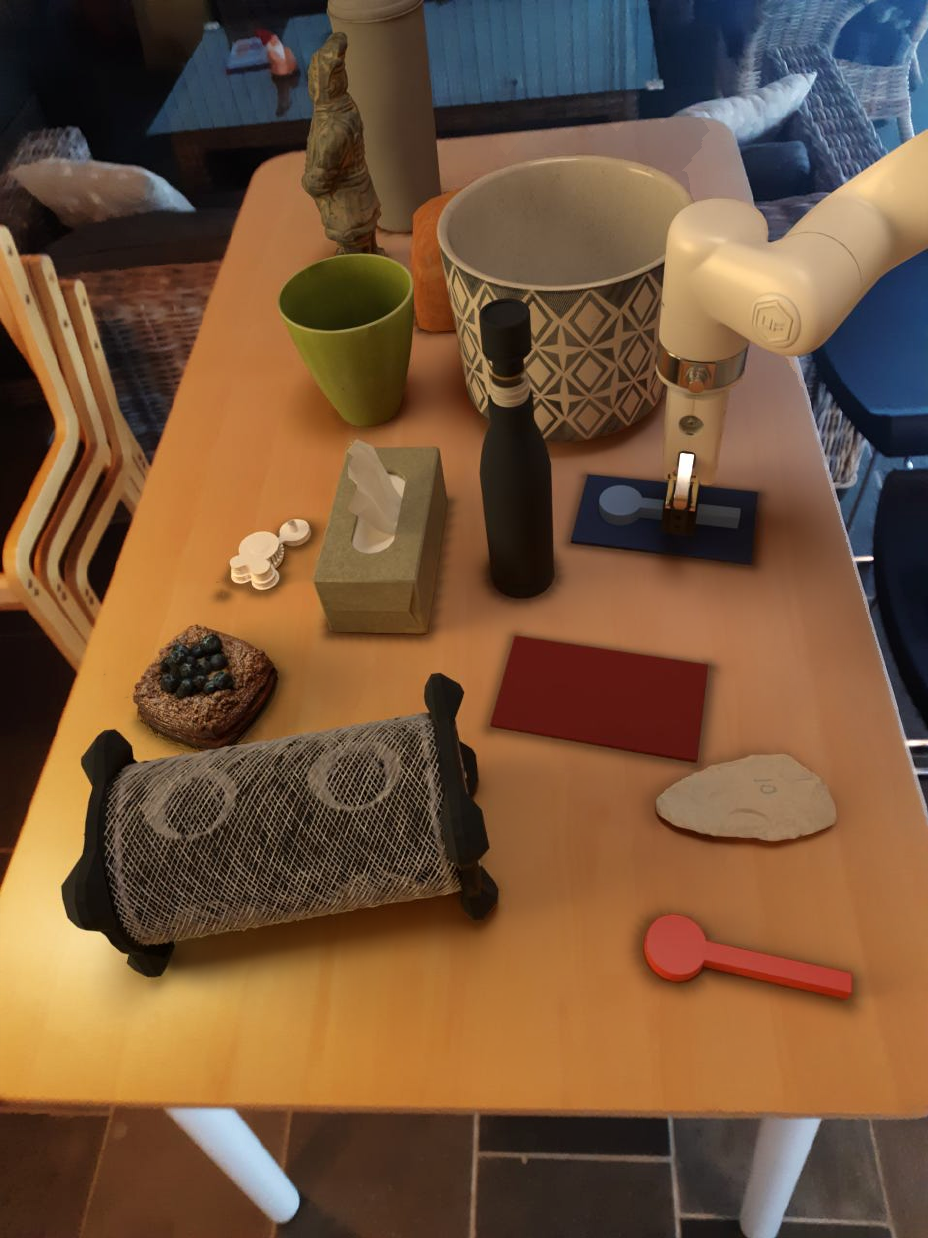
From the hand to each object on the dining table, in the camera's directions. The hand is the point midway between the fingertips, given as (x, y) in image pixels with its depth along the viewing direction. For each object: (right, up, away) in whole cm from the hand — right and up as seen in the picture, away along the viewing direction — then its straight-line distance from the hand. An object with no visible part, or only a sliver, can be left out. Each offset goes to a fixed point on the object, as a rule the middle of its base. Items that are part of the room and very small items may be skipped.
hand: (682, 497), depth 89 cm
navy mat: (-1, -2, +3) cm, 4 cm away
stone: (+1, -28, -17) cm, 32 cm away
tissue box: (-30, -7, +3) cm, 30 cm away
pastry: (-46, -20, -5) cm, 51 cm away
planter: (-10, +15, +17) cm, 25 cm away
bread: (-12, +32, +31) cm, 46 cm away
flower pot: (-33, +13, +19) cm, 41 cm away
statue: (-38, +38, +39) cm, 66 cm away
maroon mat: (-10, -19, -10) cm, 24 cm away
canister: (-31, +50, +47) cm, 75 cm away
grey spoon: (-1, -2, +3) cm, 3 cm away
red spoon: (-2, -38, -25) cm, 45 cm away
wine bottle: (-16, -8, 0) cm, 18 cm away
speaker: (-34, -33, -17) cm, 50 cm away
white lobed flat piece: (-43, -6, +5) cm, 44 cm away
